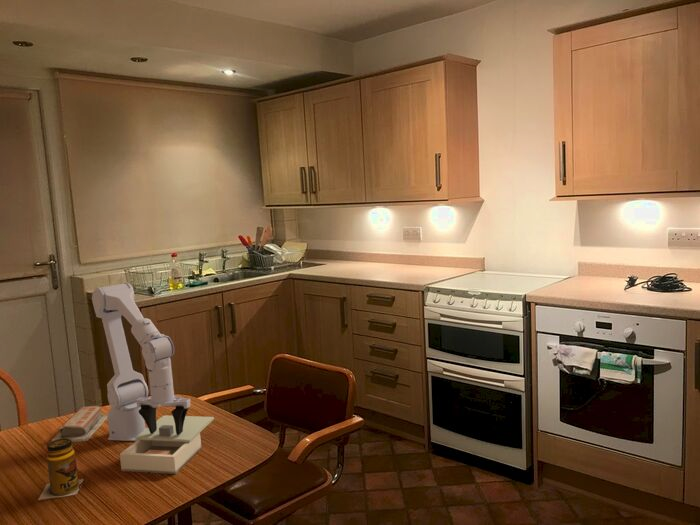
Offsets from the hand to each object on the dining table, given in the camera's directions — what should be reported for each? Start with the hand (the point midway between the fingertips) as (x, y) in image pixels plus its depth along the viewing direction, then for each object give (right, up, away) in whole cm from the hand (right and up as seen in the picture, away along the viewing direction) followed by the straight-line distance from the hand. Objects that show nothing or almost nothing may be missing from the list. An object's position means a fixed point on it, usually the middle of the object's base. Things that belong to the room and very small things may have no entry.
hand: (166, 432), depth 153 cm
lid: (+1, 0, +5) cm, 5 cm away
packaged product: (-32, -6, +20) cm, 38 cm away
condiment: (-20, -10, -15) cm, 27 cm away
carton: (0, -6, -2) cm, 7 cm away
